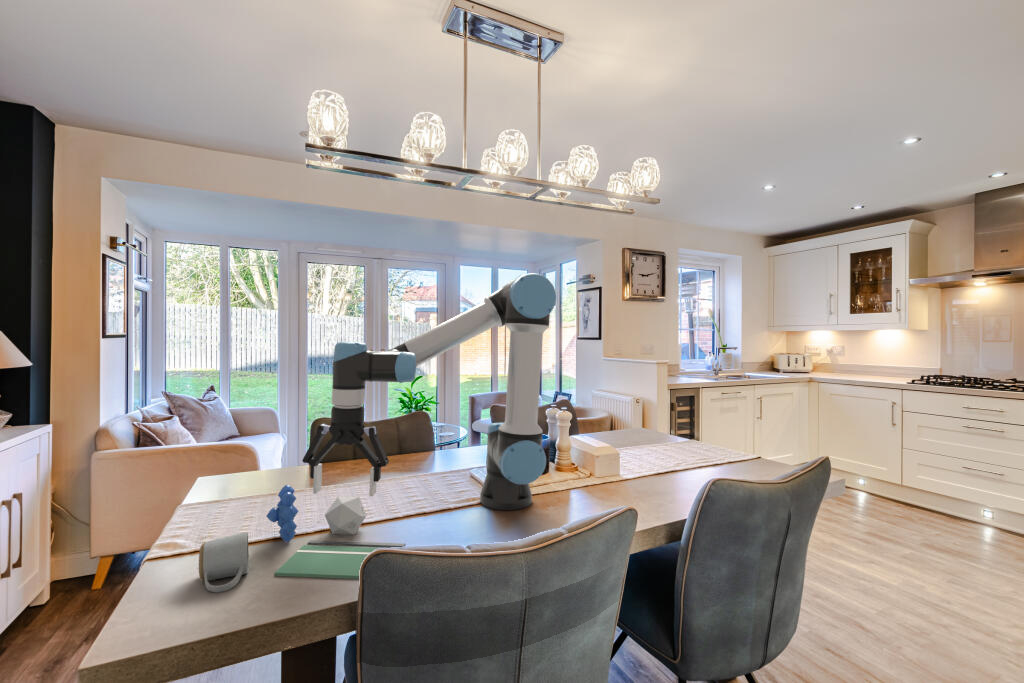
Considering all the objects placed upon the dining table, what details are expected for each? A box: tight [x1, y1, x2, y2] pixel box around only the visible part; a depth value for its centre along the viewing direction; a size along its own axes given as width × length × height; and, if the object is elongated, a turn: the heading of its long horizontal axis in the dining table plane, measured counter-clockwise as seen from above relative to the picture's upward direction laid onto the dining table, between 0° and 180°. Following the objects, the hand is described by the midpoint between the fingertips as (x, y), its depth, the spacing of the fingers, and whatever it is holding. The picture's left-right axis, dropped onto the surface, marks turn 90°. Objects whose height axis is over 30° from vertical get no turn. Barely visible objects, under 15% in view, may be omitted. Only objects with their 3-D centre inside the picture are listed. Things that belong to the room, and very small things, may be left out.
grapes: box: [266, 484, 299, 543], centre depth 107 cm, size 12×7×12 cm, turn 31°
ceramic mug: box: [198, 531, 250, 593], centre depth 89 cm, size 11×8×8 cm
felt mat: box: [274, 544, 379, 580], centre depth 96 cm, size 22×12×1 cm, turn 89°
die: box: [324, 496, 368, 536], centre depth 111 cm, size 8×9×10 cm
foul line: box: [307, 539, 406, 548], centre depth 105 cm, size 22×1×1 cm, turn 89°
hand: (344, 493), depth 111 cm, fingers open, 13 cm apart
